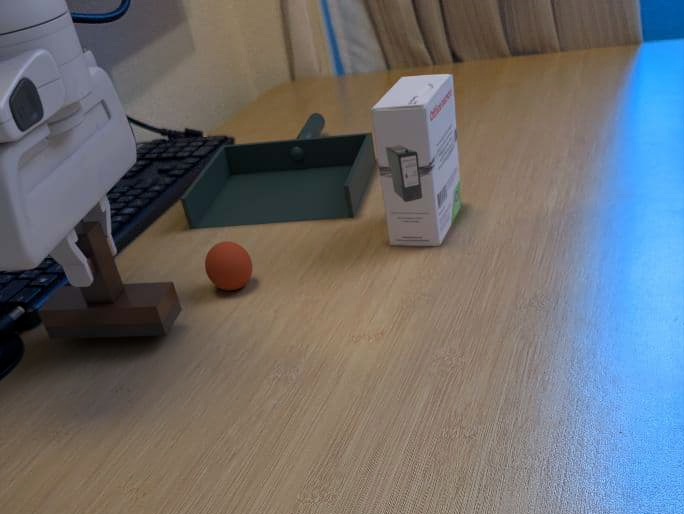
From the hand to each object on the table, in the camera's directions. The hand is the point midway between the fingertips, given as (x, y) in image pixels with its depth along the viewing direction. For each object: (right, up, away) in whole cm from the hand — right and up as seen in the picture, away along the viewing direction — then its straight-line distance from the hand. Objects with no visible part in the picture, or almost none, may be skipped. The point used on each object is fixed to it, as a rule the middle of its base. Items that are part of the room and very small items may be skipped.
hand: (95, 271), depth 64 cm
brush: (+1, -3, +3) cm, 5 cm away
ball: (+9, +3, +7) cm, 12 cm away
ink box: (+26, +8, +13) cm, 30 cm away
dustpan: (+12, +19, +27) cm, 35 cm away
